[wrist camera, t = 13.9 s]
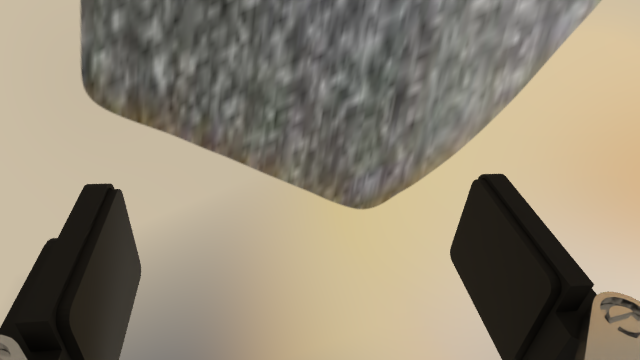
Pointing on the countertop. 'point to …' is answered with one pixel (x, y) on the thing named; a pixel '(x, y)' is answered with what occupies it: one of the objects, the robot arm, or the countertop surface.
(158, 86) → the countertop surface
